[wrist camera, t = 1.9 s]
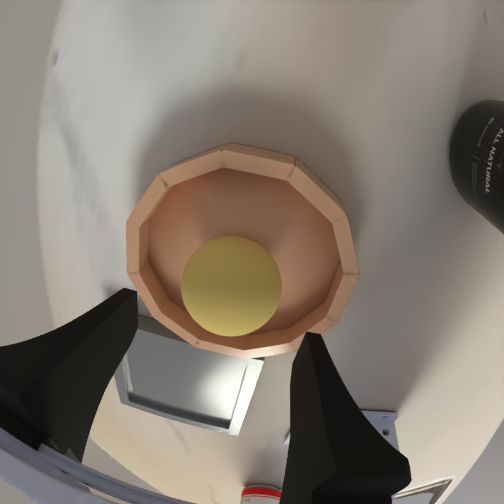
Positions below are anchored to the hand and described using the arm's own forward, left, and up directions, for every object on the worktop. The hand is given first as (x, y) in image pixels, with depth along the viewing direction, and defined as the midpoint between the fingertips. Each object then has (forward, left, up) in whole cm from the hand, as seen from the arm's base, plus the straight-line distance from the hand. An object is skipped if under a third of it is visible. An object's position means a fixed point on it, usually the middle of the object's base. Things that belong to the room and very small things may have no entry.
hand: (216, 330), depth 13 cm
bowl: (0, 0, -7) cm, 7 cm away
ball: (0, 0, -6) cm, 6 cm away
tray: (+3, +13, -7) cm, 15 cm away
